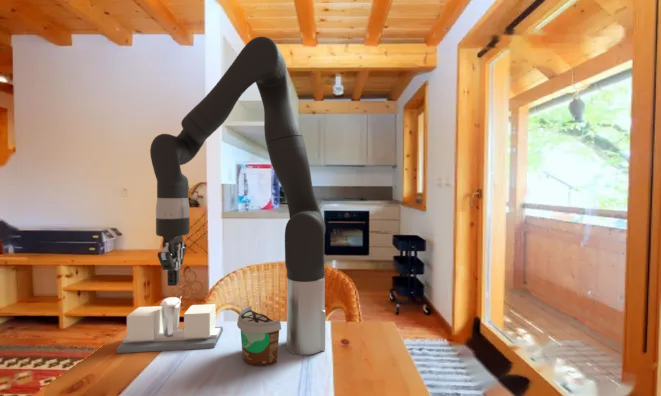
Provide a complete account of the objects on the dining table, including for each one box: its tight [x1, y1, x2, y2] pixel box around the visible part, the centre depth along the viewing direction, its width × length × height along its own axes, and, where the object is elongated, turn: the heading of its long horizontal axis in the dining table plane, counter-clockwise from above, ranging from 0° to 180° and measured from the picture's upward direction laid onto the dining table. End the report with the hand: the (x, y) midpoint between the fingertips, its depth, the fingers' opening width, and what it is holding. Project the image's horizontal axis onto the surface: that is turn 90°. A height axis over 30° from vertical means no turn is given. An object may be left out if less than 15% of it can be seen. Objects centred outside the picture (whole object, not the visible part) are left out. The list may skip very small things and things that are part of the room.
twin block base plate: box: [116, 303, 224, 354], centre depth 78 cm, size 22×9×8 cm, turn 97°
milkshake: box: [159, 295, 183, 337], centre depth 77 cm, size 4×5×10 cm
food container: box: [236, 305, 282, 368], centre depth 70 cm, size 12×6×10 cm, turn 47°
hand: (173, 284), depth 78 cm, fingers closed
